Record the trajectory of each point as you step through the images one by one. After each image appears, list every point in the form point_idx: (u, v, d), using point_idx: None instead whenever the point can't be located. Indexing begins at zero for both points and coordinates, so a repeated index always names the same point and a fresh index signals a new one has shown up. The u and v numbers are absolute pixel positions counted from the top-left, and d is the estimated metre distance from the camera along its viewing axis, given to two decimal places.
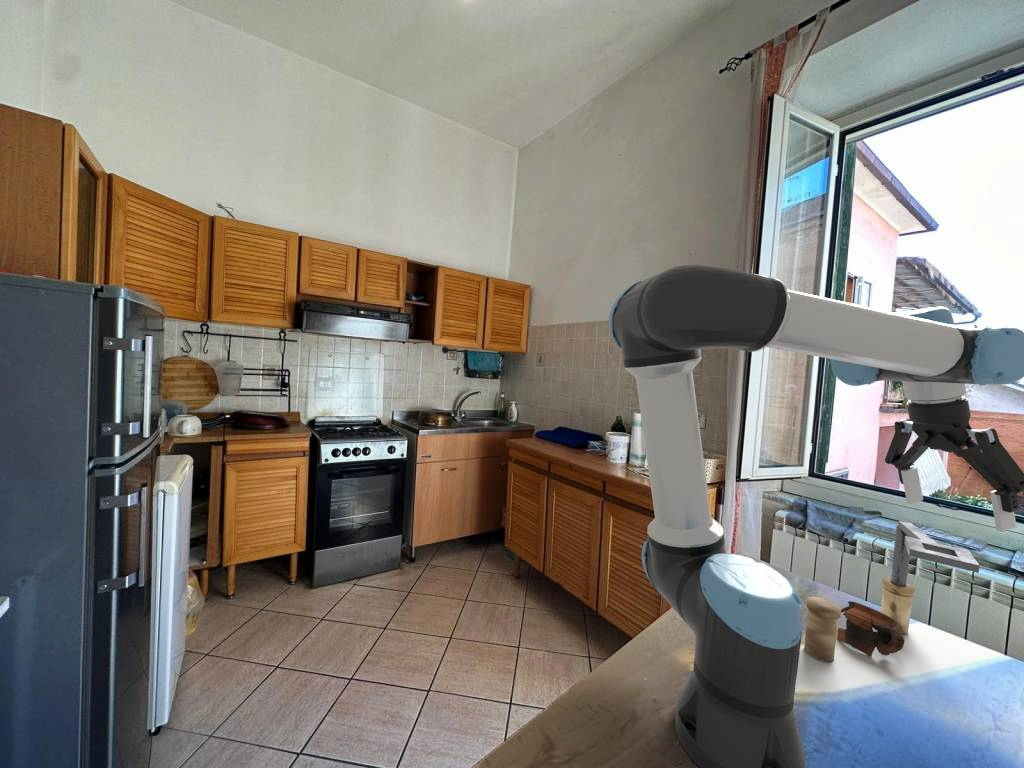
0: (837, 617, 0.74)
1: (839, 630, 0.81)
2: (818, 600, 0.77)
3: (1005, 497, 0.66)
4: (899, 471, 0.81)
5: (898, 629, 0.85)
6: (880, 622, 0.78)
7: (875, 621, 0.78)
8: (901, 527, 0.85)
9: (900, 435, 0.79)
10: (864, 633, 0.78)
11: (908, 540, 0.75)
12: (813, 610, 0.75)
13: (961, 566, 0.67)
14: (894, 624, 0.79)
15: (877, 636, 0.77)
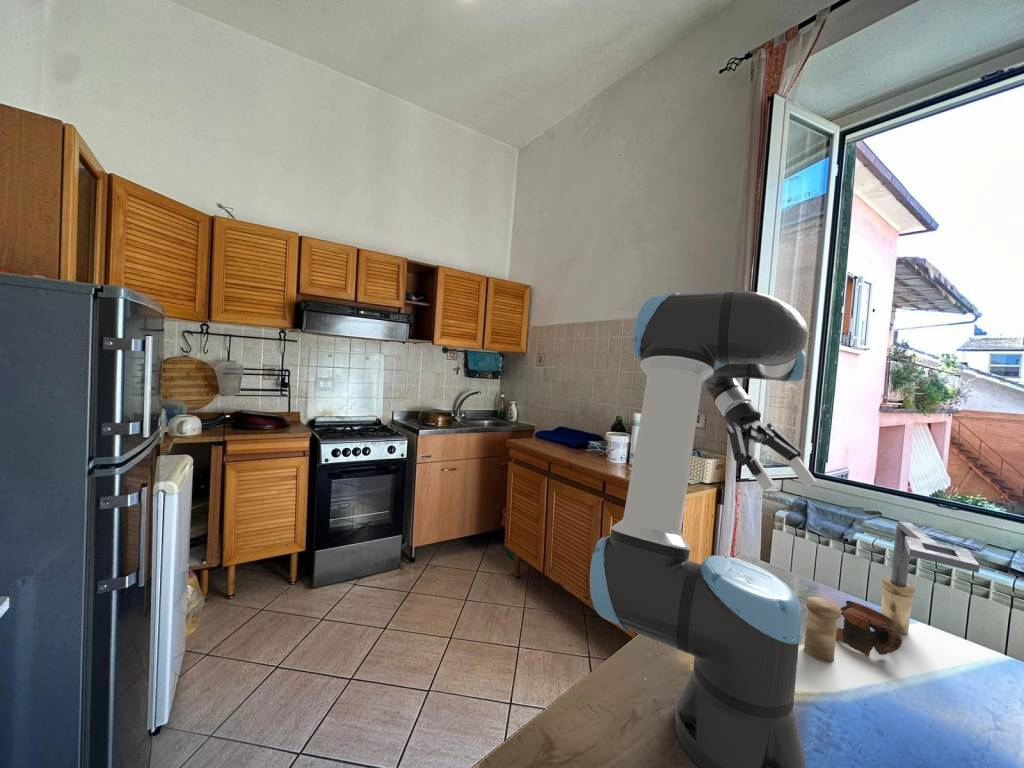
0: (837, 617, 0.74)
1: None
2: (818, 600, 0.77)
3: None
4: (751, 462, 0.93)
5: (898, 629, 0.85)
6: (878, 622, 0.78)
7: (872, 620, 0.78)
8: (901, 527, 0.85)
9: (740, 431, 0.98)
10: (862, 633, 0.78)
11: (908, 540, 0.75)
12: (813, 610, 0.75)
13: (961, 566, 0.67)
14: (891, 623, 0.79)
15: (875, 636, 0.77)
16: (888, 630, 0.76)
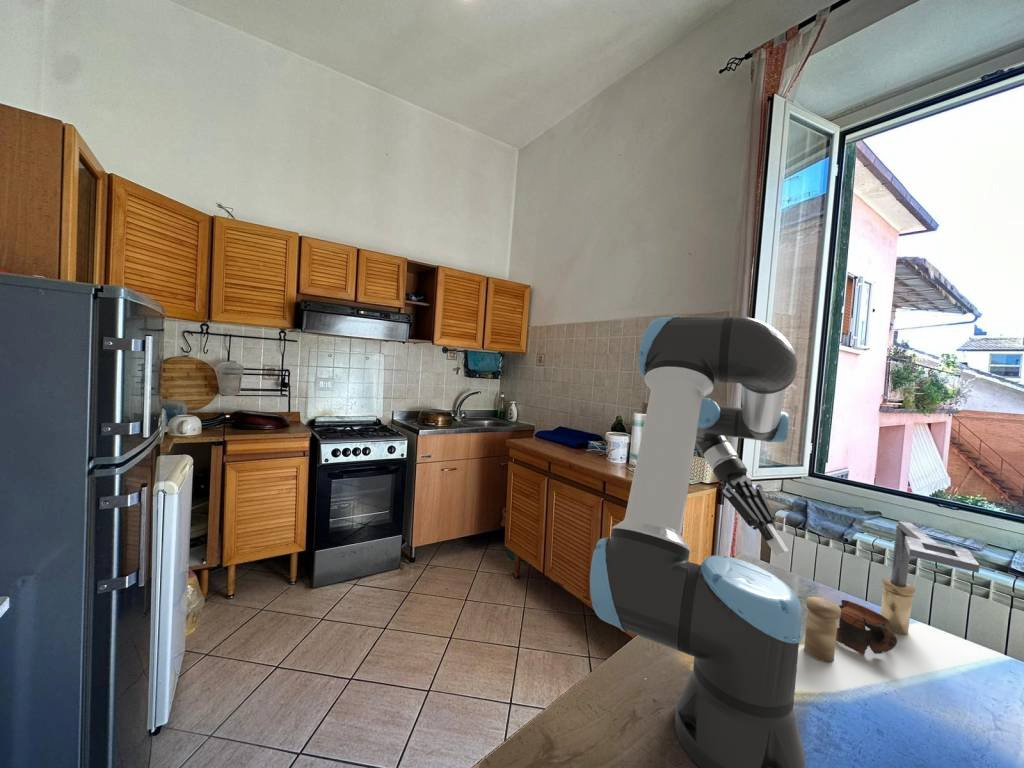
0: (837, 617, 0.74)
1: None
2: (818, 600, 0.77)
3: None
4: (764, 527, 0.99)
5: (898, 629, 0.85)
6: (873, 621, 0.78)
7: (868, 619, 0.78)
8: (901, 527, 0.85)
9: (737, 494, 1.03)
10: (857, 632, 0.78)
11: (908, 540, 0.75)
12: (813, 610, 0.75)
13: (961, 566, 0.67)
14: (886, 623, 0.79)
15: (870, 635, 0.77)
16: (883, 629, 0.76)
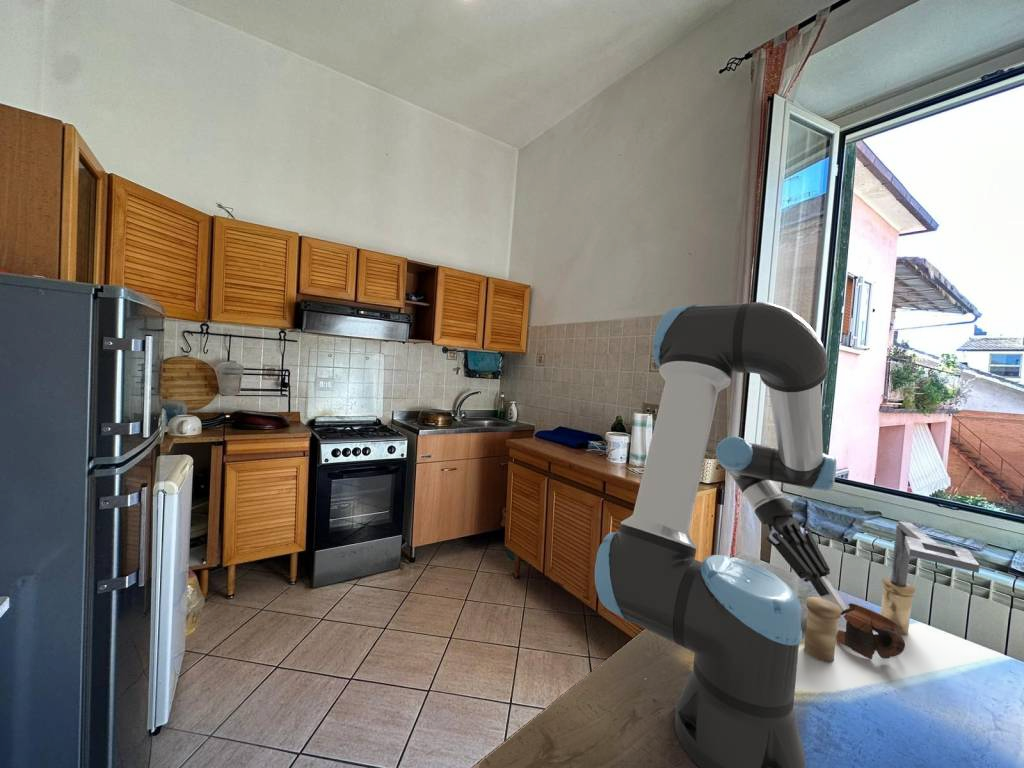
0: (837, 617, 0.74)
1: (838, 633, 0.80)
2: (818, 600, 0.77)
3: None
4: (818, 581, 0.88)
5: (898, 629, 0.85)
6: (881, 625, 0.77)
7: (875, 624, 0.77)
8: (901, 527, 0.85)
9: (785, 541, 0.91)
10: (864, 636, 0.77)
11: (908, 540, 0.75)
12: (813, 610, 0.75)
13: (961, 566, 0.67)
14: (895, 627, 0.77)
15: (877, 639, 0.76)
16: (891, 634, 0.74)
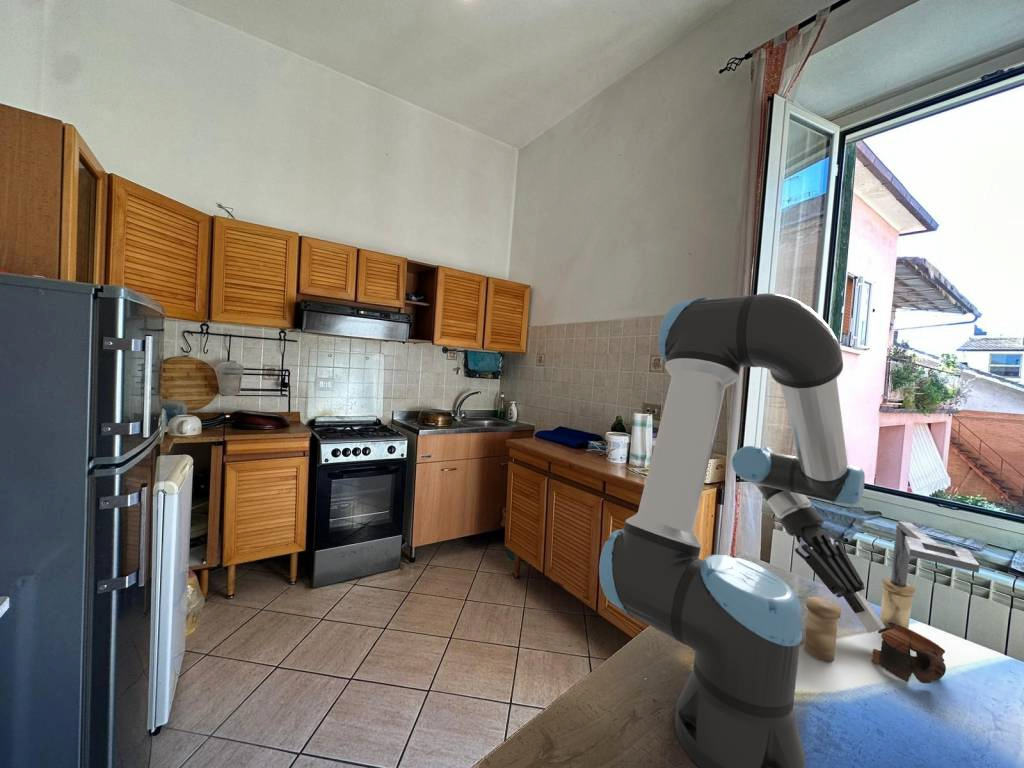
0: (837, 617, 0.74)
1: (873, 652, 0.75)
2: (818, 600, 0.77)
3: None
4: (852, 597, 0.82)
5: None
6: (921, 647, 0.71)
7: (914, 645, 0.71)
8: (901, 527, 0.85)
9: (816, 553, 0.86)
10: (901, 657, 0.71)
11: (908, 540, 0.75)
12: (813, 610, 0.75)
13: (961, 566, 0.67)
14: (940, 651, 0.71)
15: (915, 661, 0.70)
16: (930, 656, 0.69)
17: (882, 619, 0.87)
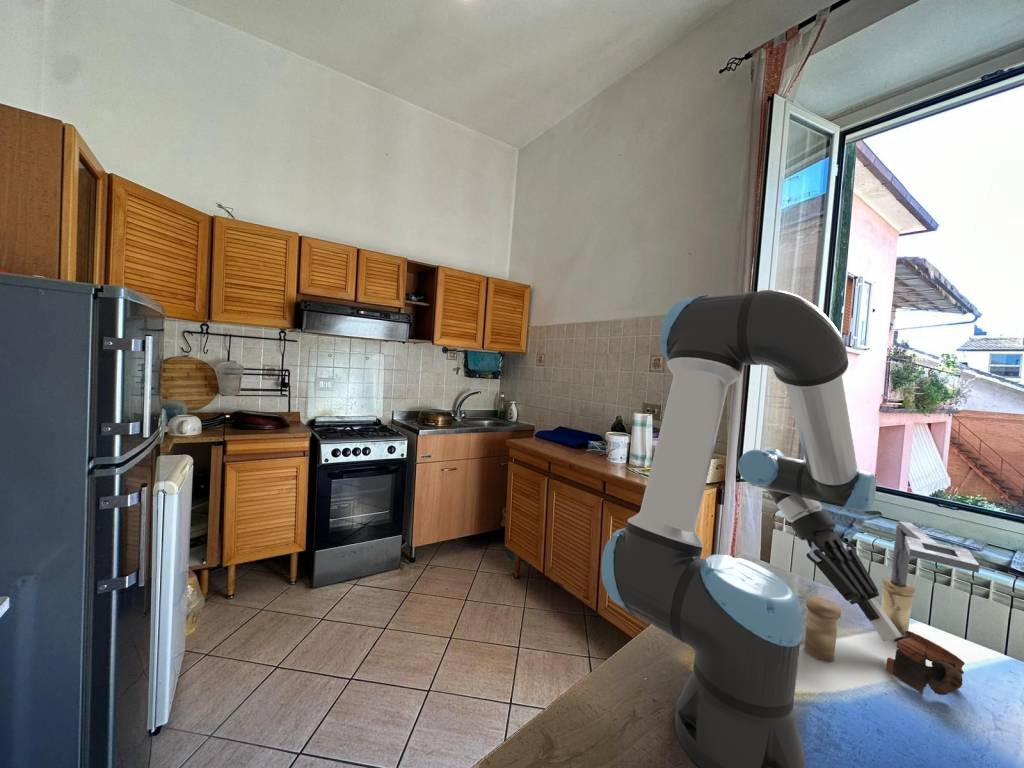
0: (837, 617, 0.74)
1: (887, 660, 0.73)
2: (818, 600, 0.77)
3: None
4: (866, 603, 0.79)
5: (898, 629, 0.85)
6: (937, 657, 0.68)
7: (930, 655, 0.69)
8: (901, 527, 0.85)
9: (828, 559, 0.83)
10: (915, 667, 0.69)
11: (908, 540, 0.75)
12: (813, 610, 0.75)
13: (961, 566, 0.67)
14: (958, 663, 0.68)
15: (930, 672, 0.68)
16: (946, 667, 0.66)
17: None
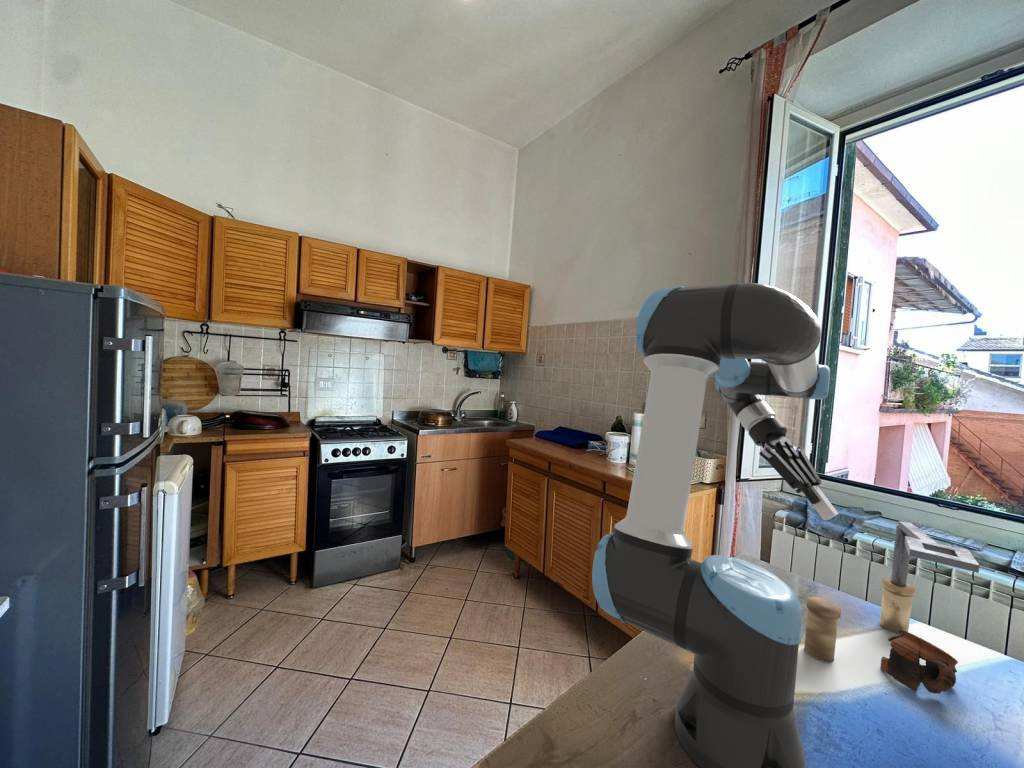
0: (837, 617, 0.74)
1: (882, 659, 0.74)
2: (818, 600, 0.77)
3: None
4: (809, 489, 0.89)
5: (898, 629, 0.85)
6: (931, 656, 0.69)
7: (924, 653, 0.69)
8: (901, 527, 0.85)
9: (778, 454, 0.93)
10: (909, 665, 0.70)
11: (908, 540, 0.75)
12: (813, 610, 0.75)
13: (961, 566, 0.67)
14: (951, 661, 0.69)
15: (924, 670, 0.68)
16: (939, 666, 0.67)
17: (882, 619, 0.87)
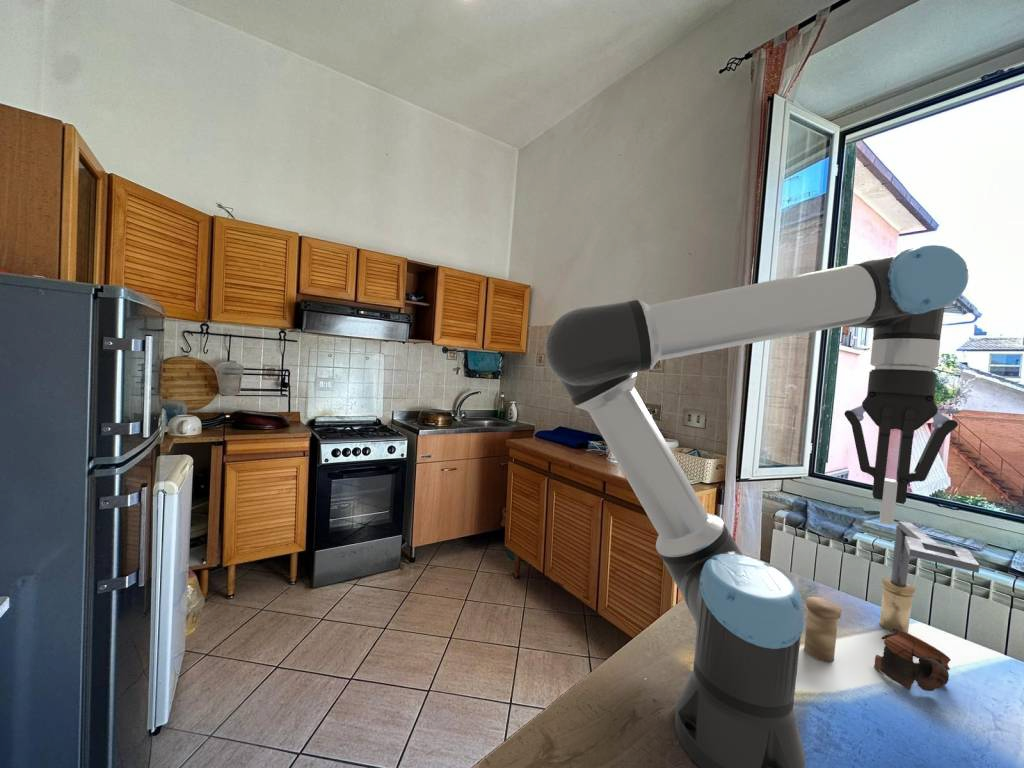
0: (837, 617, 0.74)
1: (876, 658, 0.74)
2: (818, 600, 0.77)
3: (902, 488, 0.63)
4: (876, 482, 0.65)
5: None
6: (924, 654, 0.69)
7: (917, 651, 0.70)
8: (901, 527, 0.85)
9: (859, 425, 0.66)
10: (903, 663, 0.70)
11: (908, 540, 0.75)
12: (813, 610, 0.75)
13: (961, 566, 0.67)
14: (944, 659, 0.69)
15: (917, 668, 0.69)
16: (932, 663, 0.67)
17: (882, 619, 0.87)
